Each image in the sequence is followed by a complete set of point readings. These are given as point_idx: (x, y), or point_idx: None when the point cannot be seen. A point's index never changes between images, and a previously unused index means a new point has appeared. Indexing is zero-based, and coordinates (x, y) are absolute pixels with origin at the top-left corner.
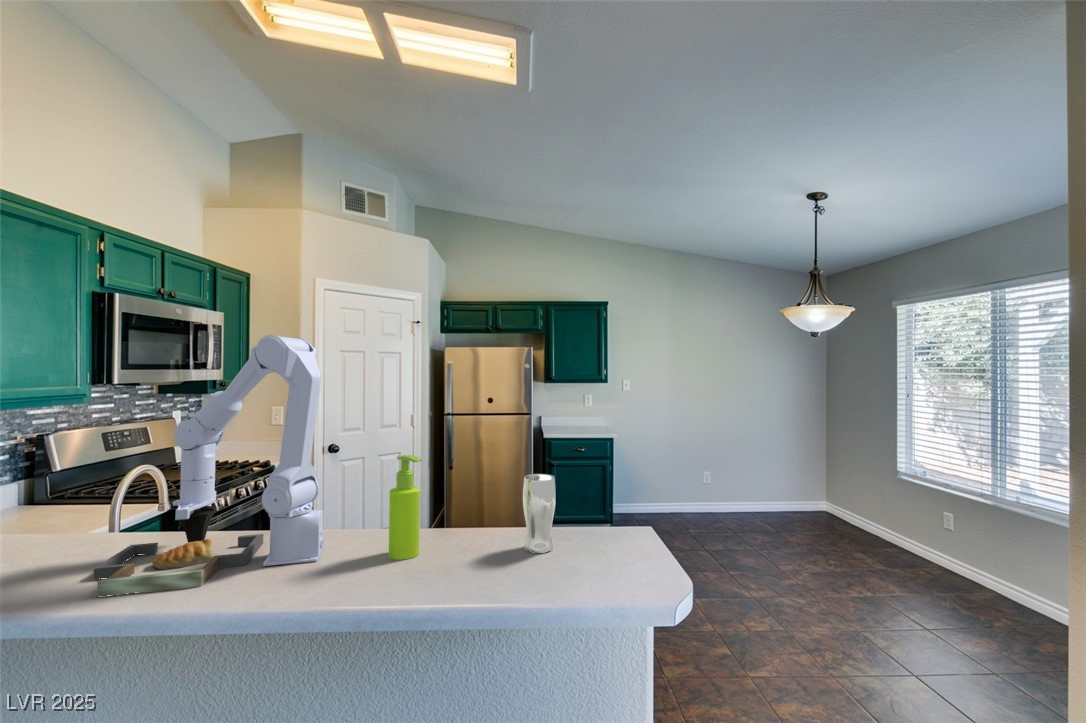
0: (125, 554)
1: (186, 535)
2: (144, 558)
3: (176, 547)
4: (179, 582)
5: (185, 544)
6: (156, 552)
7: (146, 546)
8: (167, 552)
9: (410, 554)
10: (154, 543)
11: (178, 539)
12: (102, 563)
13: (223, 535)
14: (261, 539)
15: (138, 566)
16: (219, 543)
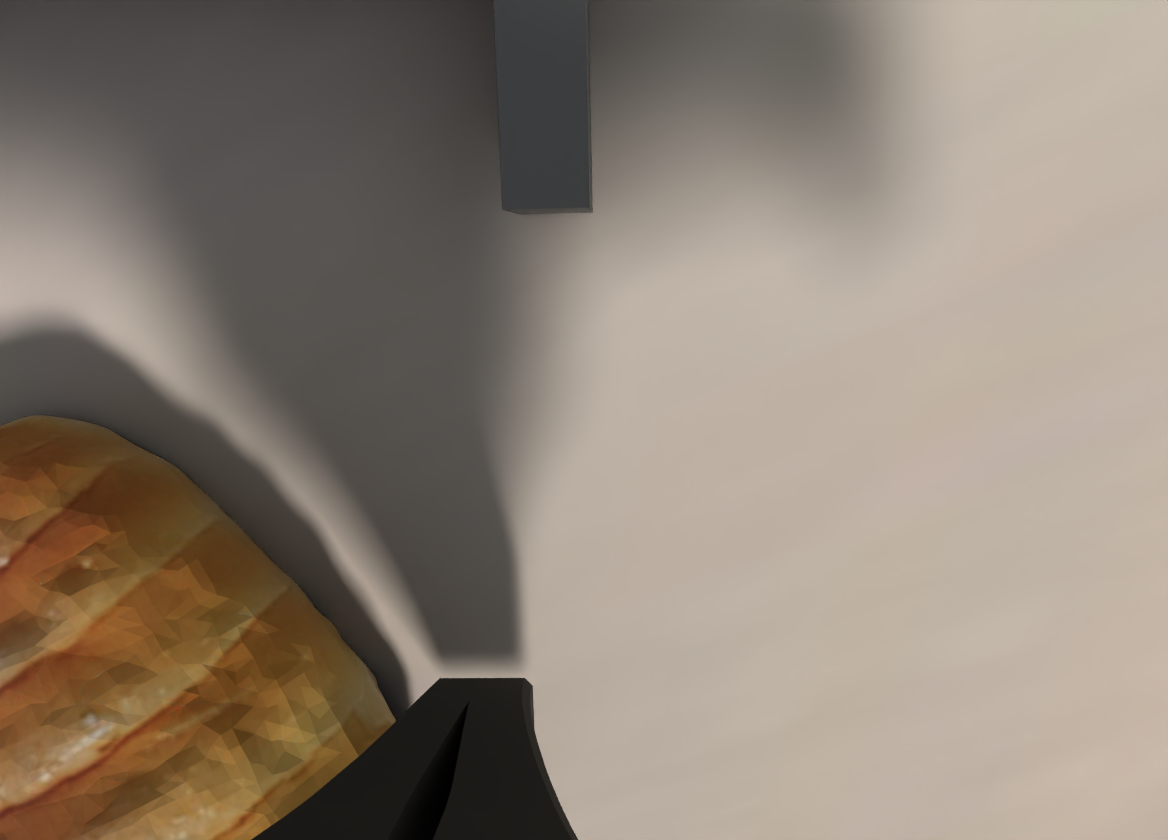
0: None
1: (357, 760)
2: (390, 141)
3: (34, 711)
4: None
5: (48, 831)
6: (560, 212)
7: (503, 74)
8: (9, 596)
9: None
10: (557, 169)
11: (1161, 245)
12: None
13: (1107, 785)
14: None
15: (96, 216)
16: (763, 836)
